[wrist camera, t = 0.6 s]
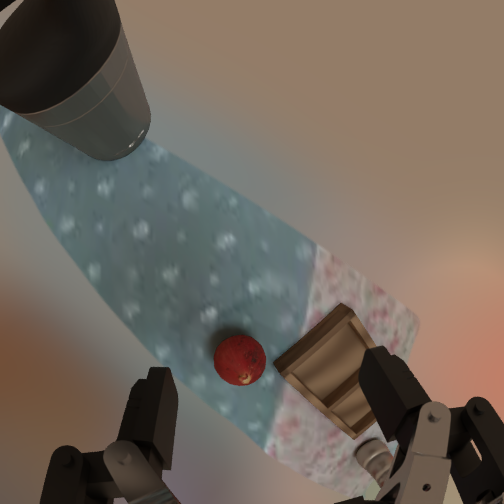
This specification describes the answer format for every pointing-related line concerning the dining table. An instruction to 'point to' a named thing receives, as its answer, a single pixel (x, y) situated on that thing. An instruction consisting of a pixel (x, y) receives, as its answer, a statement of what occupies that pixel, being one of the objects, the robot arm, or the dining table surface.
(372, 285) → the dining table surface
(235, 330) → the dining table surface
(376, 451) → the plastic bottle
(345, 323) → the walnut tray
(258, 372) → the pomegranate
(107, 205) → the dining table surface
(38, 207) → the dining table surface
